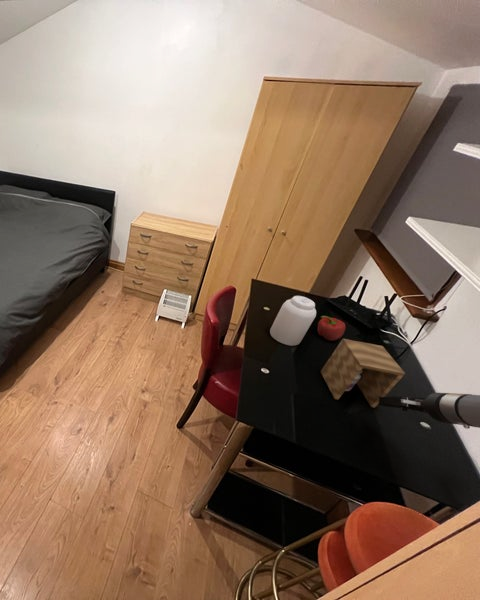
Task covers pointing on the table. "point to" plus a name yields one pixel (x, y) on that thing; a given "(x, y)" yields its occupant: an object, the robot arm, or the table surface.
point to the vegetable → (330, 328)
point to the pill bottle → (354, 381)
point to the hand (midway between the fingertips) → (381, 401)
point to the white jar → (293, 320)
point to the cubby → (375, 370)
